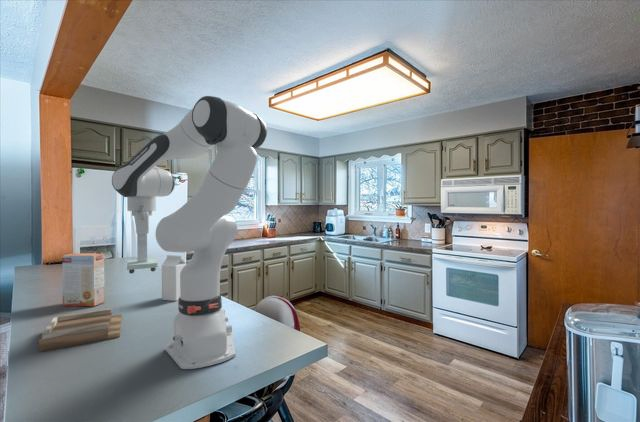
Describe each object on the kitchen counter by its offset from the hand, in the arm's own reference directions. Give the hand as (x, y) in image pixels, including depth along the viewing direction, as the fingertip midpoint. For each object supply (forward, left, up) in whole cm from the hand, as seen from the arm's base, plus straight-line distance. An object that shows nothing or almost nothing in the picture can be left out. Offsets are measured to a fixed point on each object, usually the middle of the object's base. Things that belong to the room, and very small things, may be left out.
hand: (142, 244), depth 110 cm
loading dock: (-4, +16, -27) cm, 32 cm away
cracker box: (+32, +21, -27) cm, 47 cm away
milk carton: (+22, -12, -27) cm, 37 cm away
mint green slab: (0, 0, -9) cm, 9 cm away
